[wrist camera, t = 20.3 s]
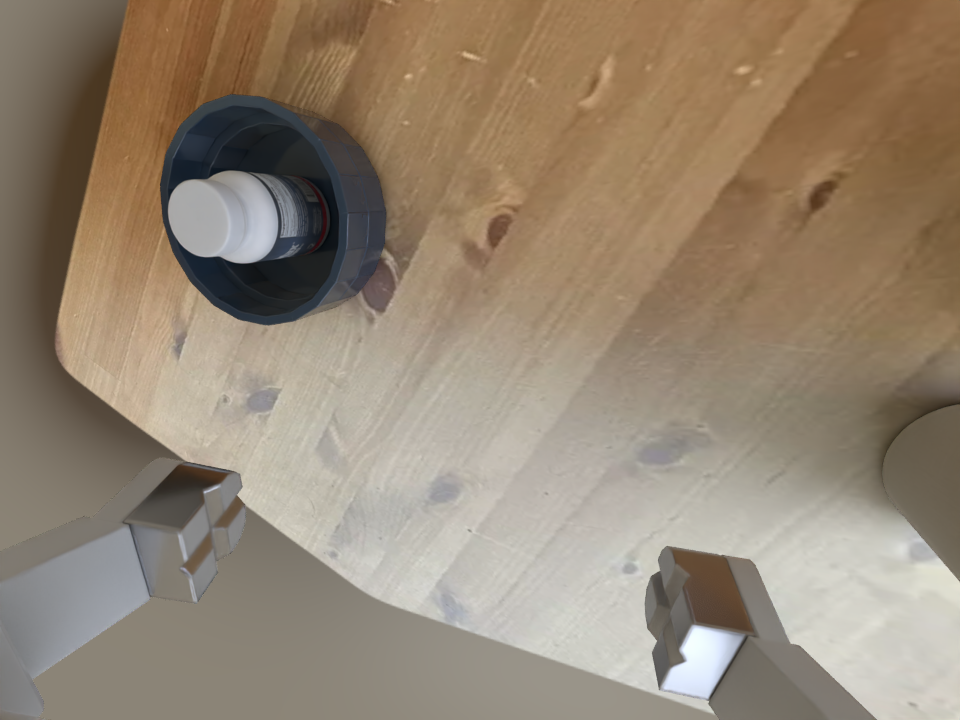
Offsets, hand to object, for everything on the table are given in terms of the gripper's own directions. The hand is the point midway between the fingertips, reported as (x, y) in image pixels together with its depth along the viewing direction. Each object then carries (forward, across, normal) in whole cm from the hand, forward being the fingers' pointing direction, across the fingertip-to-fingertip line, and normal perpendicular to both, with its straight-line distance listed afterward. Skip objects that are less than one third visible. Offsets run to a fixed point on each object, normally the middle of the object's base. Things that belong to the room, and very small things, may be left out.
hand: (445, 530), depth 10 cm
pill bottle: (+27, +15, +2) cm, 31 cm away
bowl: (+28, +15, +2) cm, 31 cm away
